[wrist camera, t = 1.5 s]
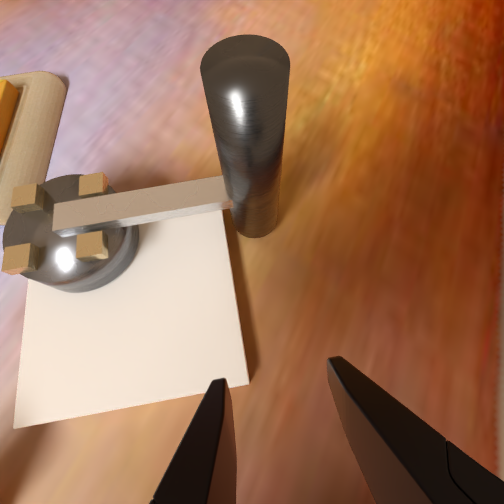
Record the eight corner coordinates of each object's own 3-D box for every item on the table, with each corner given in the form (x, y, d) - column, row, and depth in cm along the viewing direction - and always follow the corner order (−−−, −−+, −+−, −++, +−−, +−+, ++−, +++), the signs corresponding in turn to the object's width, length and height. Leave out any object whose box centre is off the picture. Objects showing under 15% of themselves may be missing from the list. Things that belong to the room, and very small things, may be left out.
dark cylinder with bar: (287, 259, 23) (313, 134, 11) (37, 304, 22) (-235, 226, 10) (266, 173, 26) (269, -3, 14) (46, 210, 25) (-158, 62, 13)
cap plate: (249, 383, 21) (248, 384, 19) (30, 425, 20) (12, 429, 19) (220, 197, 26) (218, 188, 25) (47, 227, 26) (34, 219, 24)
